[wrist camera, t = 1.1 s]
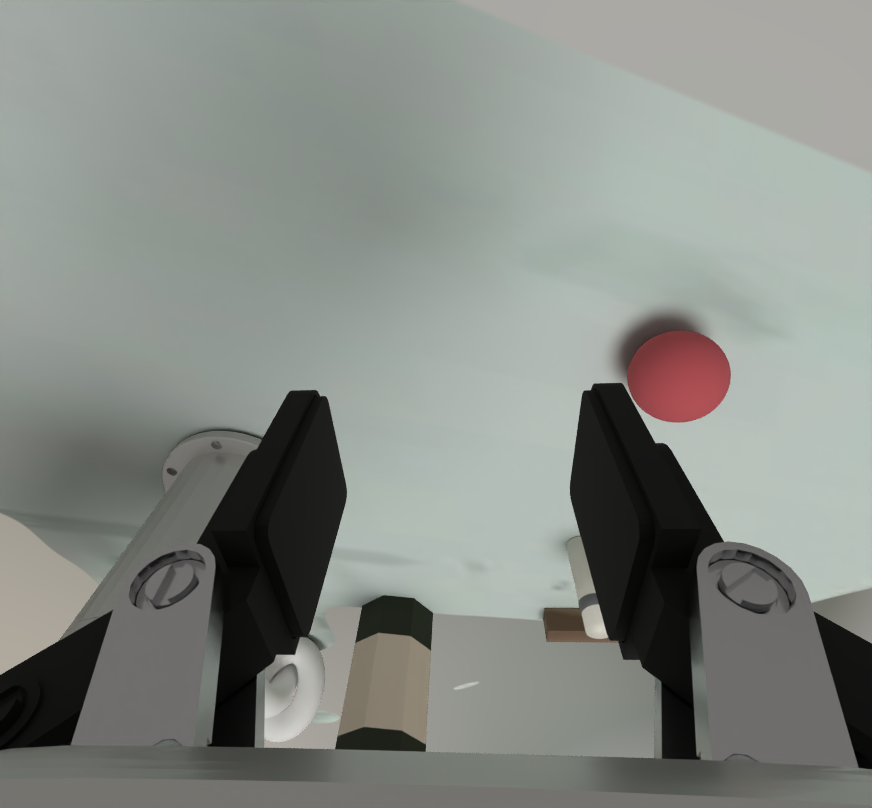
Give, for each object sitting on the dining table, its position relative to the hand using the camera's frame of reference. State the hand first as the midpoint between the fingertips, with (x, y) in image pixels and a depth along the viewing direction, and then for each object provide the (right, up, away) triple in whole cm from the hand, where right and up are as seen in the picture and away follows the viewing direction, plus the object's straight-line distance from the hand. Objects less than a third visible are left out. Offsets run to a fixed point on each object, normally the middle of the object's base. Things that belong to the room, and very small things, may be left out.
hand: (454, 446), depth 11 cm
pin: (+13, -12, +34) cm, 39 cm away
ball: (+15, +3, +21) cm, 26 cm away
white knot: (-19, -27, +46) cm, 57 cm away
